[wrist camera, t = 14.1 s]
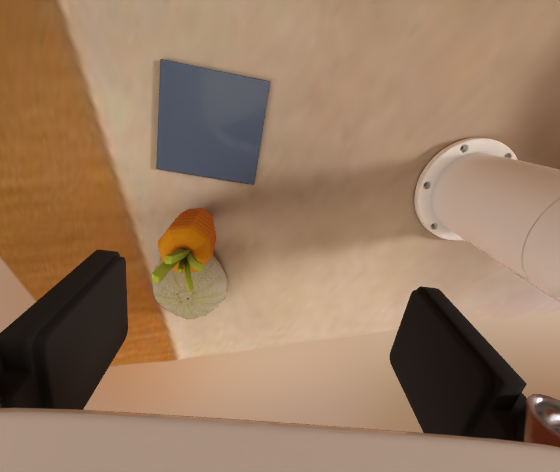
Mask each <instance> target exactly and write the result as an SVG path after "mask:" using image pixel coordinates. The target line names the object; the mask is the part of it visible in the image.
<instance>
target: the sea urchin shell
mask: <svg viewBox="0 0 560 472" xmlns="http://www.w3.org/2000/svg"><path fill="white" fill-rule="evenodd" d="M161 263H162V259H160V261H159V263H158V264H157V266H156V268H155V270H156V269H157V268H158V266H159V265H160V264H161ZM204 266H205V268H204V270H203V271H202V272H191V278H192V282H193V286H194V289H193V290H192V291H190V292H188V290H187V287H186V283H185V273H181V274H179V273H177V272H176V271H174V270H173V269H171V270H170V271H169V272H168V273H167V274H166V276H165V277H164V278H163V280H162V281H161V282H160V283H159V284H158V283H155V282H154V281H153V280H152V286H153V293H154V296H155V298H156V301H158V302H159V303H160V304H161V305H162V306H163V307H164V309H167V310H168V311H170V312H172V313H173V314H175V315H176V316H180V317H183V318H185V319H195V318H198V317H201V316H206V314H208V313H209V312H211V311H212V310H213V309H215V308H217V306H219V304H220V303H221V302H222V301H223V299H224V298H225V297H226V293H227V291H228V290H227V278H226V274H225V273H224V271H223V268H222V265H221V264H220V263H219V262H218V261H217V259H216V258H215V256H214V255H213V256H212V257H211V258H210V259H209V261H208V262H207V263H206V264H205V265H204Z"/></svg>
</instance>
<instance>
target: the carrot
mask: <svg viewBox="0 0 560 472" xmlns="http://www.w3.org/2000/svg"><path fill="white" fill-rule="evenodd" d="M215 242H216V234H215V227H214V221H213V216H212V215H211V214H210V213H209V212H207V211H206V210H205V209H203V208H197V209H189V210H187V211H185V212H183V213H181V214H180V215H179V216H178V217H177V218H176V220H175V221H174V222H173V223H172V225H171V226H170V227H169V228H168V230H167V231H166V232H165V234H164V235H163V236H162V237H161V239H160V240H159V241H158V247H159V251H160V255H161V259H162V263H161V264H160V265H159V266H158V268H157V269H156V270H155V271H154V272H153V274H152V280H153V281H154V282H155V283H158V284H159V283H160V282H161V281H162V280H163V278H164V277H165V276H166V274H167V273H168V272H169V271H170V270H171V269H173V270H174V271H176V272H177V273H179V274H181V273H185V283H186V287H187V290H188V292H190V291H192V290H193V289H194V286H193V282H192V278H191V272H202V271H203V270H204V268H205V266H204V265H205V264H206V263H207V262H208V261H209V259H210V258H211V257H212V256H213V252H214V248H215Z"/></svg>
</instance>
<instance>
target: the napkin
mask: <svg viewBox="0 0 560 472" xmlns="http://www.w3.org/2000/svg"><path fill="white" fill-rule="evenodd" d="M269 85H270V81H265V80H260V79H255V78H250V77H245V76H241V75H236V74H231V73H226V72H221V71H216V70H212V69H207V68H202V67H197V66H192V65H187V64H183V63H178V62H173V61H168V60H163V59H161V64H160V90H159V115H158V141H157V167H156V168H157V169H161V170H167V171H173V172H179V173H185V174H191V175H198V176H204V177H210V178H216V179H222V180H228V181H234V182H240V183H246V184H252V185H254V182H255V175H256V169H257V163H258V156H259V150H260V143H261V137H262V130H263V124H264V118H265V111H266V105H267V98H268V92H269Z"/></svg>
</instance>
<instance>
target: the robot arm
mask: <svg viewBox="0 0 560 472" xmlns="http://www.w3.org/2000/svg"><path fill="white" fill-rule="evenodd" d="M424 183H425V185H424ZM414 204H415V210H416V214H417V216H418V218H419V220H420V222H421V223H422V224H423V226H424V227H425V228H426V229H427V230H429V231H430V232H431V233H433V234H434V235H436V236H437V237H440V238H443V239H446V240H452V241H460V240H466V241H468V242H469V243H471V244H472V245H474V246H475V247H477V248H478V249H480V250H481V251H483V252H484V253H486V254H487V255H489V256H490V257H492V258H493V259H495V260H496V261H498V262H499V263H501V264H502V265H504V266H505V267H507V268H508V269H510V270H511V271H513V272H514V273H516V274H517V275H519V276H520V277H522V278H523V279H525V280H526V281H528V282H529V283H531V284H532V285H534V286H535V287H537V288H538V289H540V290H541V291H543V292H544V293H546V294H547V295H549V296H551V297H553V298H555V299H557V300H559V301H560V169H555V168H551V167H546V166H542V165H537V164H533V163H529V162H524V161H520V160H518V159H517V158H516V156H515V154H514V153H513V151H512V150H511V149H510V148H509V147H508V146H506V145H504V144H503V143H501V142H499V141H496V140H493V139H488V138H468V139H463V140H460V141H458V142H455V143H453V144H451V145H449V146H447V147H446V148H444V149H443V150H441V151H440V152H439V153H438V154H437V155H435V156H434V157H433V158H432V159H431V161H430V162H429V163H428V164H427V165H426V167H425V168H424V170H423V172H422V173H421V175H420V178H419V180H418V183H417V185H416V190H415V199H414ZM127 331H128V316H127V288H126V262H125V258H124V257H120V255H119V253H118V252H114V251H105V250H96V251H95V252H94V253H93V254H91V255H90V256H89V257H88V258H87V259H86V260H85V261H83V262H82V263H81V264H80V265H79V266H78V267H76V268H75V269H74V270H73V271H72V272H71V273H69V274H68V275H67V276H66V277H65V278H64V279H62V280H61V281H60V282H59V283H58V284H57V285H56V286H54V287H53V288H52V289H51V290H50V291H49V292H47V293H46V294H45V295H44V296H43V297H42V298H40V299H39V300H38V301H37V302H36V303H35V304H34V305H32V306H31V307H30V308H29V309H28V310H27V311H25V312H24V313H23V314H22V315H21V316H20V317H19V318H18V319H16V320H15V321H14V322H13V323H12V324H10V325H9V326H8V327H7V328H6V329H5V330H3V331H2V332H1V333H0V472H560V401H559V400H557V399H554V398H552V397H549V396H545V395H541V394H533V395H531V396H529V397H528V398H526V397H525V396H524V395H523V394H522V391H523V389H524V387H525V386H526V383H525V382H524V381H523V379H522V378H521V377H520V376H519V375H518V374H517V373H516V372H515V371H514V370H513V369H512V368H511V366H510V365H509V364H508V363H507V362H506V361H505V360H504V359H503V358H502V357H501V356H500V355H499V353H498V352H497V351H496V350H495V349H494V348H493V347H492V346H491V345H490V344H489V343H488V342H487V341H486V339H485V338H484V337H483V336H482V335H481V334H480V333H479V332H478V331H477V330H476V329H475V328H474V327H473V325H472V324H471V323H470V322H469V321H468V320H467V319H466V318H465V317H464V316H463V315H462V313H461V312H460V311H459V310H458V309H457V308H456V307H455V306H454V305H453V304H452V303H451V302H450V300H449V299H448V298H447V297H446V296H445V295H444V294H443V293H442V292H441V291H440V290H439V289H436V288H428V287H419V288H418V289H417V290H414V291H413V292H412V293H411V296H410V298H409V301H408V304H407V307H406V310H405V313H404V315H403V318H402V321H401V324H400V327H399V329H398V332H397V335H396V338H395V341H394V344H393V346H392V349H391V352H390V362H391V365H392V367H393V369H394V371H395V374H396V376H397V378H398V380H399V382H400V384H401V386H402V388H403V390H404V392H405V394H406V397H407V399H408V401H409V403H410V405H411V407H412V409H413V411H414V413H415V416H416V418H417V420H418V422H419V424H420V426H421V428H422V430H423V432H424V433H416V432H402V431H390V430H377V429H364V428H350V427H336V426H322V425H309V424H295V423H294V424H293V423H281V422H266V421H252V420H251V421H250V420H237V419H222V418H207V417H190V416H176V415H160V414H159V415H158V414H145V413H130V412H112V411H94V410H83V409H84V407H85V405H86V404H87V402H88V400H89V399H90V397H91V395H92V394H93V392H94V390H95V389H96V387H97V385H98V384H99V382H100V380H101V379H102V377H103V375H104V374H105V372H106V370H107V369H108V367H109V365H110V364H111V362H112V360H113V359H114V357H115V355H116V354H117V352H118V350H119V349H120V347H121V345H122V344H123V342H124V340H125V338H126V336H127Z"/></svg>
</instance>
